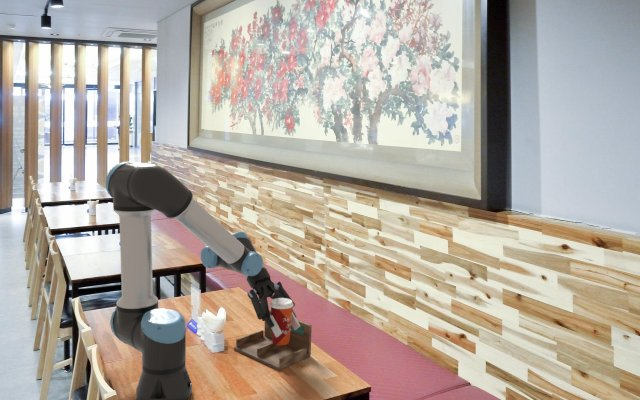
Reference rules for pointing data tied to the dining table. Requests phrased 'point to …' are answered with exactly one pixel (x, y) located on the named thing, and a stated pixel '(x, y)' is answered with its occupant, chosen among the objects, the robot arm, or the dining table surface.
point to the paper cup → (282, 319)
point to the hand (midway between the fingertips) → (288, 331)
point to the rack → (277, 346)
